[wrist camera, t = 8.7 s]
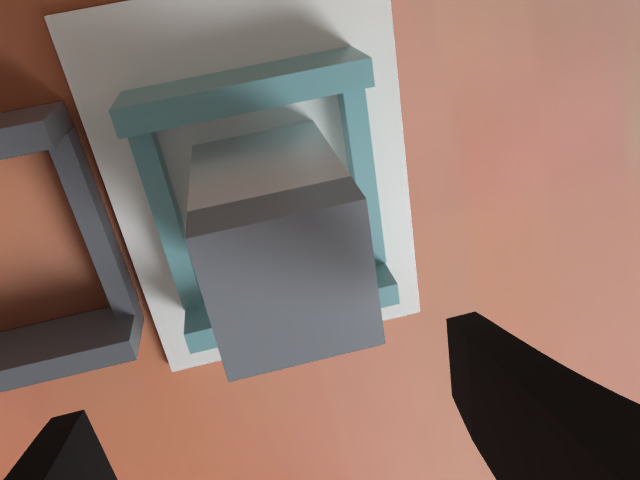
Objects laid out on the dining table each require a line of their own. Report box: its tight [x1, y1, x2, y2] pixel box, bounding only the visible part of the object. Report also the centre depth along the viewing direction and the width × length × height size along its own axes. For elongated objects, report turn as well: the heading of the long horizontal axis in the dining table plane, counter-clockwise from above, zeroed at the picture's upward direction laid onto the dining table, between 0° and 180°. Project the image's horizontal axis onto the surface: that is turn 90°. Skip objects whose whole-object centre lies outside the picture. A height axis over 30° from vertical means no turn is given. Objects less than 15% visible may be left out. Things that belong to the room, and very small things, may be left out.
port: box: [44, 0, 420, 372], centre depth 18 cm, size 10×13×3 cm
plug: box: [185, 121, 386, 382], centre depth 16 cm, size 4×4×7 cm
